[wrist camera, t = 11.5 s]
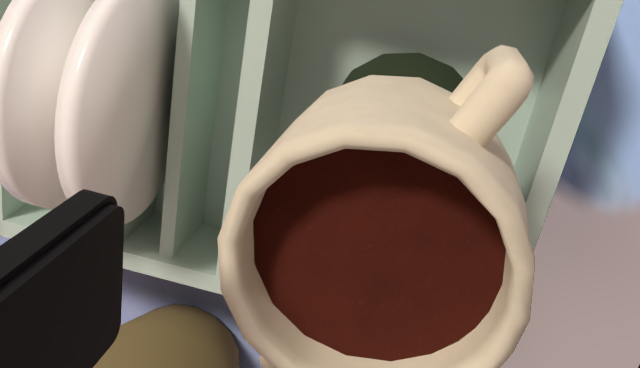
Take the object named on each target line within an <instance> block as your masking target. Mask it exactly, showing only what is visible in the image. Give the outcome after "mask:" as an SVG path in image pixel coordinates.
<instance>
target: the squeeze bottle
mask: <svg viewBox="0 0 640 368" xmlns="http://www.w3.org/2000/svg"><path fill="white" fill-rule="evenodd" d="M93 368H239V349H238V347H237V345H236V343H235V341H234V338H233V336H232V334H231V332H230V331H229V330H228V329H227V328H226V327H225V326H224V325H223V324H222V323H221V322H220V321H219V320H218V319H217V318H216V317H215V316H213V315H211V314H209V313H207V312H205V311H203V310H201V309H199V308H197V307H192V306H185V305H178V304H173V305H169V306H165V307H161V308H157V309H154V310H152V311H150V312H148V313H146V314H144V315H142V316H140V317H137V318H135V319H133V320H131V321H129V322H127V323H125V324H123V325H120V329H119V333H118V335H117V338H116V339H115V341H114V343H113V344H112V345H111V347H110V348H109V349H108V350H107V351H106V353H105V354H104V355H103V356H102V357H101V359H100V360H99V361H98V362H97V363H96V365H95V366H94V367H93Z"/></svg>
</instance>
